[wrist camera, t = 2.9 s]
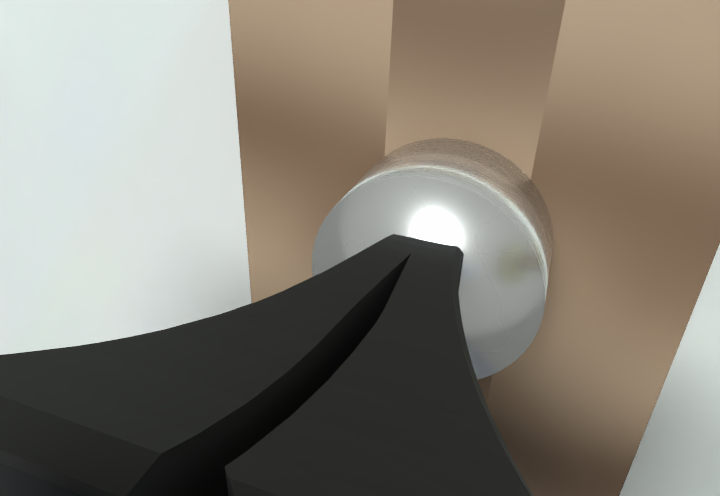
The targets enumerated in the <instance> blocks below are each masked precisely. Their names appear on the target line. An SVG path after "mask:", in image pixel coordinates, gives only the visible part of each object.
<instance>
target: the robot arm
mask: <svg viewBox="0 0 720 496" xmlns="http://www.w3.org/2000/svg"><path fill="white" fill-rule="evenodd" d="M463 257H464V253H463V252H462V251H461V249H460V248H459V247H457V246H452V245H447V244H442V243H437V242H432V241H427V240H422V239H417V238H412V237H407V236H402V235H396V234H392V235H390V236H388V237H386V238H384V239H382V240H380V241H378V242H377V243H375V244H373V245H371V246H369V247H368V248H366V249H364V250H362V251H361V252H359V253H357V254H355V255H353V256H352V257H350V258H348V259H346V260H344V261H342V262H341V263H339V264H337V265H335V266H333V267H331V268H329V269H328V270H326V271H324V272H322V273H320V274H318V275H315V276H313V277H311V278H309V279H307V280H305V281H303V282H301V283H299V284H296V285H294V286H292V287H290V288H288V289H286V290H284V291H282V292H279V293H277V294H274V295H272V296H270V297H267V298H265V299H262V300H260V301H257V302H254V303H251V304H249V305H246V306H243V307H240V308H237V309H235V310H232V311H229V312H226V313H223V314H220V315H216V316H212V317H209V318H205V319H202V320H198V321H194V322H191V323H187V324H183V325H180V326H176V327H172V328H169V329H165V330H161V331H156V332H152V333H147V334H142V335H137V336H133V337H128V338H122V339H117V340H111V341H105V342H100V343H94V344H88V345H81V346H74V347H66V348H58V349H49V350H41V351H32V352H24V353H16V354H6V355H0V496H534V495H533V494H532V492H531V491H530V489H529V487H528V485H527V484H526V482H525V480H524V478H523V477H522V475H521V473H520V471H519V469H518V468H517V466H516V464H515V462H514V461H513V459H512V457H511V455H510V453H509V451H508V449H507V447H506V445H505V443H504V440H503V438H502V436H501V434H500V432H499V430H498V428H497V426H496V424H495V422H494V419H493V417H492V415H491V413H490V411H489V409H488V406H487V404H486V401H485V399H484V396H483V393H482V391H481V388H480V386H479V383H478V380H477V377H476V374H475V371H474V368H473V365H472V361H471V358H470V355H469V351H468V347H467V343H466V338H465V334H464V329H463V324H462V318H461V312H460V303H459V294H458V292H459V285H460V278H461V271H462V264H463Z"/></svg>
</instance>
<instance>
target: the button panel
mask: <svg viewBox="0 0 720 496" xmlns="http://www.w3.org/2000/svg"><path fill="white" fill-rule="evenodd" d="M228 1H229V14H230V27H231V40H232V53H233V66H234V79H235V92H236V105H237V118H238V131H239V144H240V157H241V170H242V183H243V196H244V209H245V222H246V234H247V247H248V260H249V273H250V286H251V299H252V303H254V302H257V301H260V300H262V299H265V298H267V297H270V296H272V295H274V294H277V293H279V292H282V291H284V290H286V289H288V288H290V287H292V286H294V285H296V284H299V283H301V282H303V281H305V280H307V279H309V278H311V277H313V274H312V252H313V247H314V242H315V239H316V236H317V233H318V231H319V228H320V226H321V225H322V223H323V221H324V219H325V218H326V216H327V215H328V214H329V212H330V211H331V210H332V209H333V207H334V206H335V205H336V204H337V203H338V202H339V201H340V200H341V199H342V198H343V197H344V196H345V195H346V194H347V193H348V192H349V191H350V190H351V189H352V188H353V187H354V186H355V185H356V184H357V183H358V181H359V180H360V179H361V178H362V177H363V176H364V175H365V174H366V173H367V172H368V171H369V170H370V169H371V168H372V167H373V166H374V165H375V164H376V163H377V162H378V161H379V160H381V159H382V158H383V157H384V156H386V155H387V154H389V153H390V152H392V151H394V150H396V149H398V148H400V147H402V146H404V145H407V144H410V143H413V142H416V141H421V140H426V139H436V138H449V139H460V140H464V141H469V142H473V143H476V144H479V145H482V146H485V147H488V148H490V149H492V150H494V151H496V152H498V153H500V154H501V155H503V156H504V157H506V158H507V159H509V160H510V161H512V162H513V163H514V164H515V165H517V166H518V167H519V168H520V169H521V170H522V171H524V173H525V174H526V175H527V176H528V177H529V178H530V179H531V181H532V182H533V183H534V184H535V186H536V187H537V189H538V190H539V192H540V193H541V195H542V197H543V199H544V201H545V203H546V206H547V208H548V211H549V215H550V218H551V222H552V229H553V250H552V257H551V264H550V271H549V278H548V285H547V292H546V300H545V306H544V313H543V318H542V321H541V324H540V327H539V330H538V332H537V334H536V336H535V338H534V339H533V341H532V343H531V344H530V345H529V347H528V348H527V349H526V351H525V352H524V353H523V354H522V355H521V356H520V357H519V358H518V359H517V360H516V361H514V362H513V363H512V364H510V365H509V366H507V367H506V368H504V369H503V370H501V371H499V372H497V373H495V374H493V375H490V376H487V377H485V378H482V379H478V383H479V386H480V388H481V391H482V393H483V396H484V399H485V401H486V404H487V406H488V409H489V411H490V413H491V415H492V417H493V419H494V422H495V424H496V426H497V428H498V430H499V432H500V434H501V436H502V438H503V440H504V443H505V445H506V447H507V449H508V451H509V453H510V455H511V457H512V459H513V461H514V462H515V464H516V466H517V468H518V469H519V471H520V473H521V475H522V477H523V478H524V480H525V482H526V484H527V485H528V487H529V489H530V491H531V492H532V494H533V495H534V496H619V495H620V492H621V489H622V487H623V484H624V482H625V479H626V477H627V474H628V472H629V469H630V467H631V464H632V462H633V459H634V457H635V454H636V452H637V449H638V447H639V444H640V442H641V439H642V437H643V434H644V432H645V429H646V427H647V424H648V422H649V419H650V417H651V414H652V412H653V409H654V407H655V404H656V402H657V399H658V397H659V394H660V392H661V389H662V387H663V384H664V382H665V379H666V377H667V374H668V372H669V369H670V367H671V364H672V362H673V359H674V357H675V354H676V352H677V349H678V347H679V344H680V342H681V339H682V336H683V334H684V331H685V329H686V326H687V324H688V321H689V319H690V316H691V314H692V311H693V309H694V306H695V304H696V301H697V299H698V296H699V294H700V291H701V289H702V286H703V284H704V281H705V279H706V276H707V274H708V271H709V269H710V266H711V264H712V261H713V259H714V256H715V254H716V251H717V249H718V246H719V244H720V0H228Z"/></svg>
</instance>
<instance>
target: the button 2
mask: <svg viewBox="0 0 720 496" xmlns="http://www.w3.org/2000/svg"><path fill="white" fill-rule="evenodd" d="M392 234H396V235H402V236H407V237H412V238H417V239H422V240H427V241H432V242H437V243H442V244H447V245H452V246H457V247H459V248H460V249H461V251H462V252H463V253H464V257H463V264H462V271H461V278H460V285H459V292H458V294H459V303H460V312H461V318H462V324H463V329H464V334H465V338H466V343H467V347H468V351H469V355H470V358H471V361H472V365H473V368H474V371H475V374H476V377H477V380H478V379H482V378H485V377H487V376H490V375H493V374H495V373H497V372H499V371H501V370H503V369H504V368H506V367H507V366H509V365H510V364H512V363H513V362H514V361H516V360H517V359H518V358H519V357H520V356H521V355H522V354H523V353H524V352H525V351H526V349H527V348H528V347H529V345H530V344H531V343H532V341H533V339H534V338H535V336H536V334H537V332H538V330H539V327H540V324H541V321H542V318H543V313H544V306H545V300H546V292H547V285H548V278H549V271H550V264H551V257H552V250H553V229H552V222H551V218H550V215H549V211H548V208H547V206H546V203H545V201H544V199H543V197H542V195H541V193H540V192H539V190H538V189H537V187H536V186H535V184H534V183H533V182H532V181H531V179H530V178H529V177H528V176H527V175H526V174H525V173H524V171H522V170H521V169H520V168H519V167H518V166H517V165H515V164H514V163H513V162H512V161H510V160H509V159H507V158H506V157H504V156H503V155H501V154H500V153H498V152H496V151H494V150H492V149H490V148H488V147H485V146H482V145H479V144H476V143H473V142H469V141H464V140H460V139H449V138H436V139H426V140H421V141H416V142H413V143H410V144H407V145H404V146H402V147H400V148H398V149H396V150H394V151H392V152H390V153H389V154H387V155H386V156H384V157H383V158H382V159H381V160H379V161H378V162H377V163H376V164H375V165H374V166H373V167H372V168H371V169H370V170H369V171H368V172H367V173H366V174H365V175H364V176H363V177H362V178H361V179H360V180H359V181H358V183H357V184H356V185H355V186H354V187H353V188H352V189H351V190H350V191H349V192H348V193H347V194H346V195H345V196H344V197H343V198H342V199H341V200H340V201H339V202H338V203H337V204H336V205H335V206H334V207H333V209H332V210H331V211H330V212H329V214H328V215H327V216H326V218H325V219H324V221H323V223H322V225H321V226H320V228H319V231H318V233H317V236H316V239H315V242H314V247H313V252H312V274H313V276H315V275H318V274H320V273H322V272H324V271H326V270H328V269H329V268H331V267H333V266H335V265H337V264H339V263H341V262H342V261H344V260H346V259H348V258H350V257H352V256H353V255H355V254H357V253H359V252H361V251H362V250H364V249H366V248H368V247H369V246H371V245H373V244H375V243H377V242H378V241H380V240H382V239H384V238H386V237H388V236H390V235H392Z"/></svg>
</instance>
